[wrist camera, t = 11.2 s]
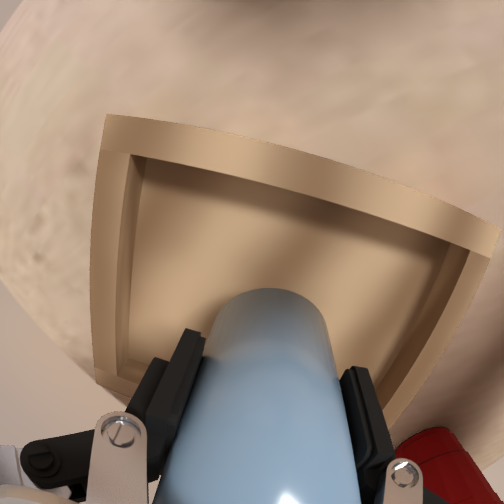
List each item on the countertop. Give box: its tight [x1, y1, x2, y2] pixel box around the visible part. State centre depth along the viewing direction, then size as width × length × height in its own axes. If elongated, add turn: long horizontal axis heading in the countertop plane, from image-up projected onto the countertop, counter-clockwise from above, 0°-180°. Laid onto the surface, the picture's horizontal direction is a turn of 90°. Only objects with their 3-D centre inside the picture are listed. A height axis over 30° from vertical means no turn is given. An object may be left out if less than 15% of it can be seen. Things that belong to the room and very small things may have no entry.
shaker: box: [152, 288, 361, 504], centre depth 7 cm, size 5×5×12 cm
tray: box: [90, 114, 501, 430], centre depth 15 cm, size 18×15×3 cm
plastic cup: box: [395, 427, 504, 504], centre depth 14 cm, size 11×11×12 cm
